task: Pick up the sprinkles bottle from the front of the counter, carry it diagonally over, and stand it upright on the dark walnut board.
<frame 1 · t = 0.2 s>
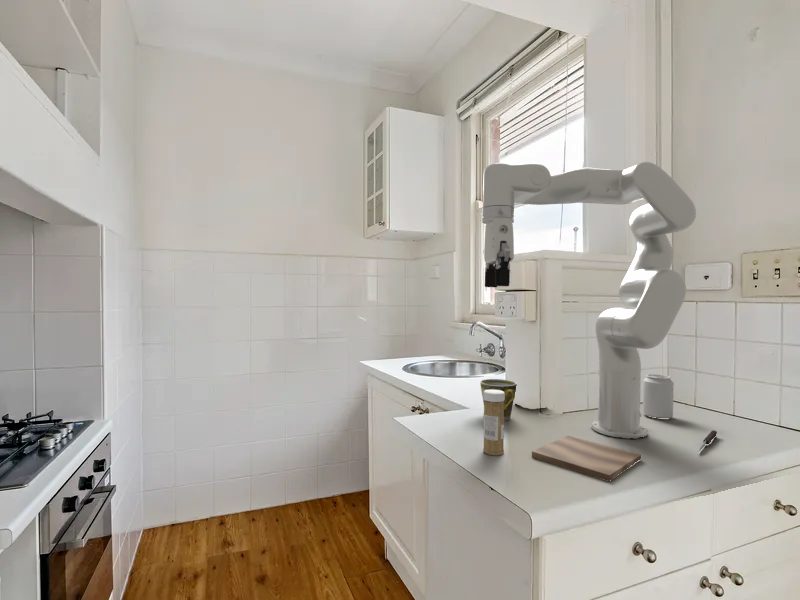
hand: (496, 286, 104), 37 cm above the countertop, tool pointing down, fingers open, 9 cm apart
ceramic cup: (500, 419, 119), on the countertop
kitchen knife: (706, 447, 99), on the countertop
can: (657, 417, 123), on the countertop
medicine bottle: (530, 407, 133), on the countertop
sprinkles bottle: (493, 453, 93), on the countertop
walnut board: (586, 458, 90), on the countertop
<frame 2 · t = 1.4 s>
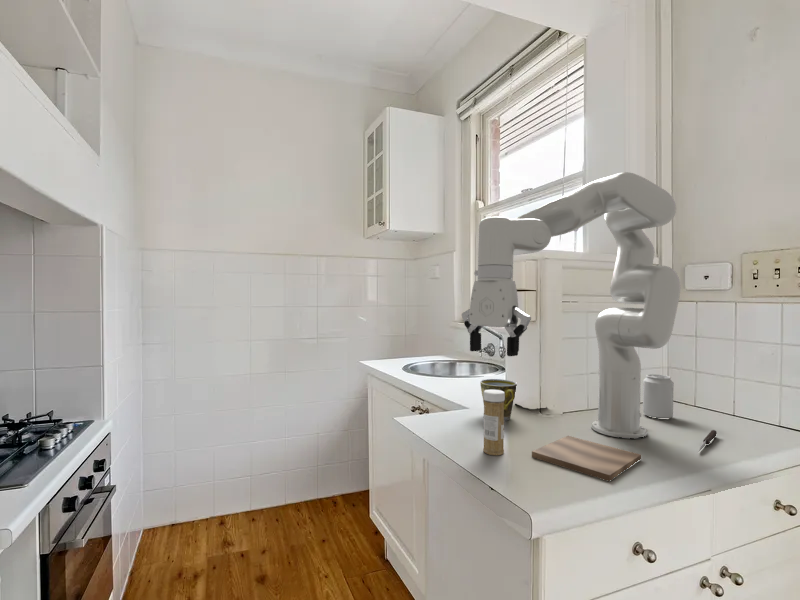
hand: (493, 353, 93), 22 cm above the countertop, tool pointing down, fingers open, 9 cm apart
nothing on the countertop moved.
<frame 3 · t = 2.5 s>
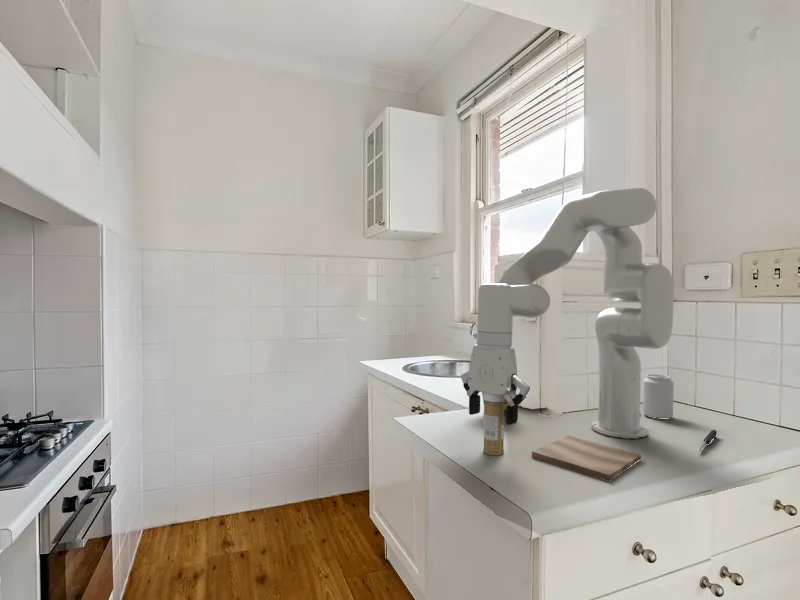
hand: (492, 418, 93), 7 cm above the countertop, tool pointing down, fingers open, 9 cm apart
nothing on the countertop moved.
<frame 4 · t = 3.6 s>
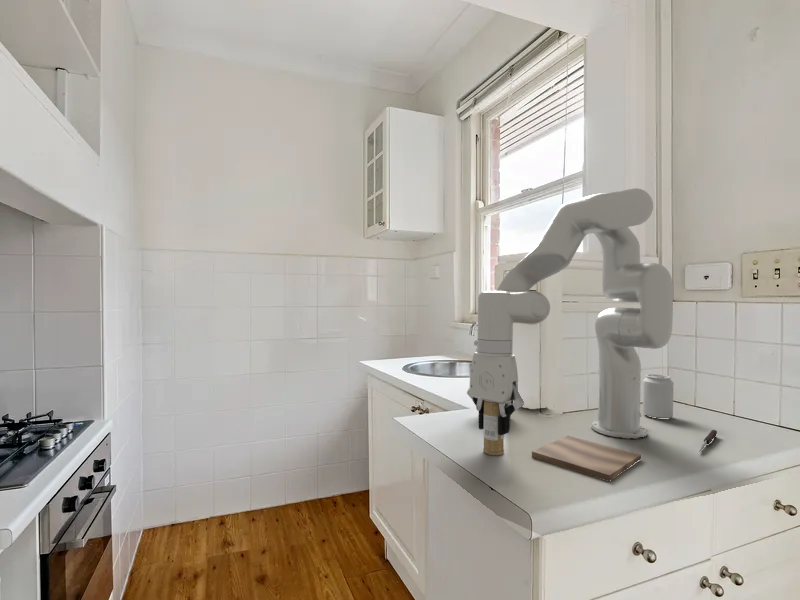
hand: (493, 430, 93), 5 cm above the countertop, tool pointing down, fingers closed on sprinkles bottle, 4 cm apart
sprinkles bottle: (493, 453, 93), on the countertop, touching gripper
everything else where it was.
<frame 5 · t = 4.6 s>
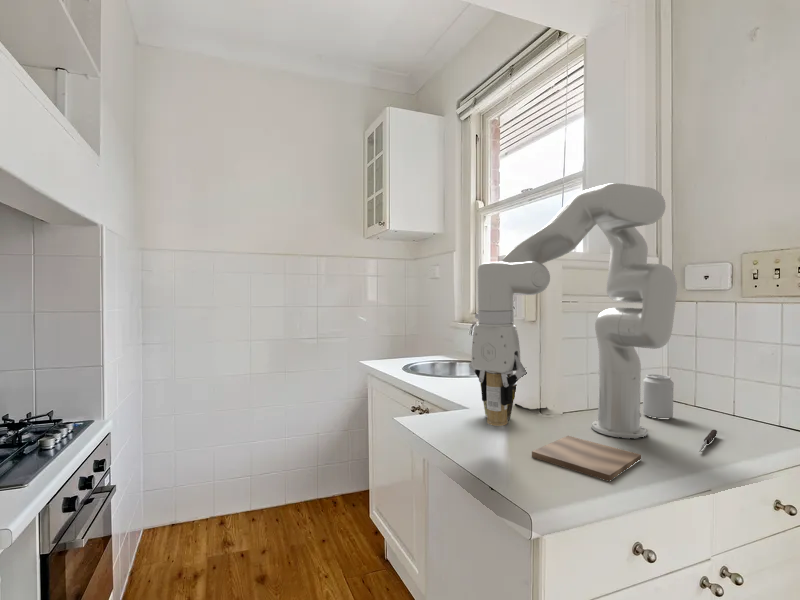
hand: (496, 401, 93), 11 cm above the countertop, tool pointing down, fingers closed on sprinkles bottle, 4 cm apart
sprinkles bottle: (497, 424, 94), point 6 cm above the countertop, touching gripper
everything else where it was.
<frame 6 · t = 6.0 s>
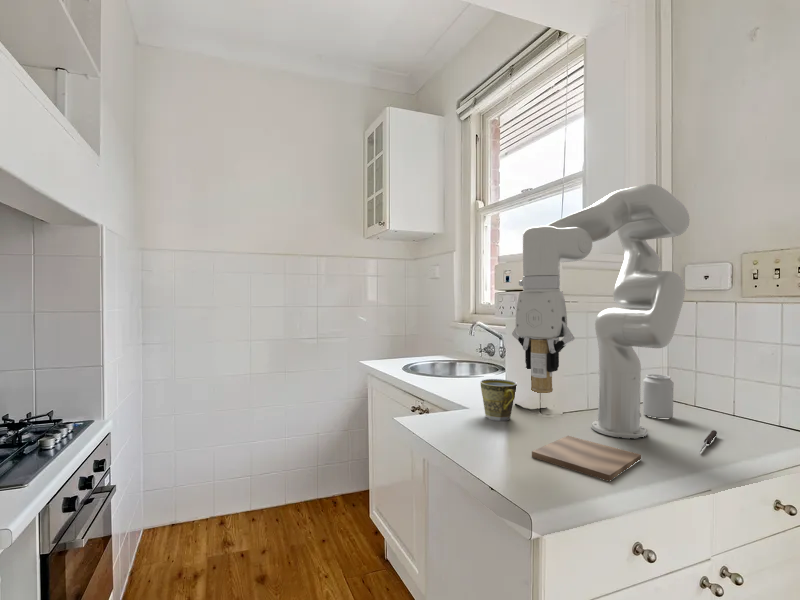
hand: (541, 368, 92), 19 cm above the countertop, tool pointing down, fingers closed on sprinkles bottle, 4 cm apart
sprinkles bottle: (541, 392, 92), point 14 cm above the countertop, touching gripper
everything else where it was.
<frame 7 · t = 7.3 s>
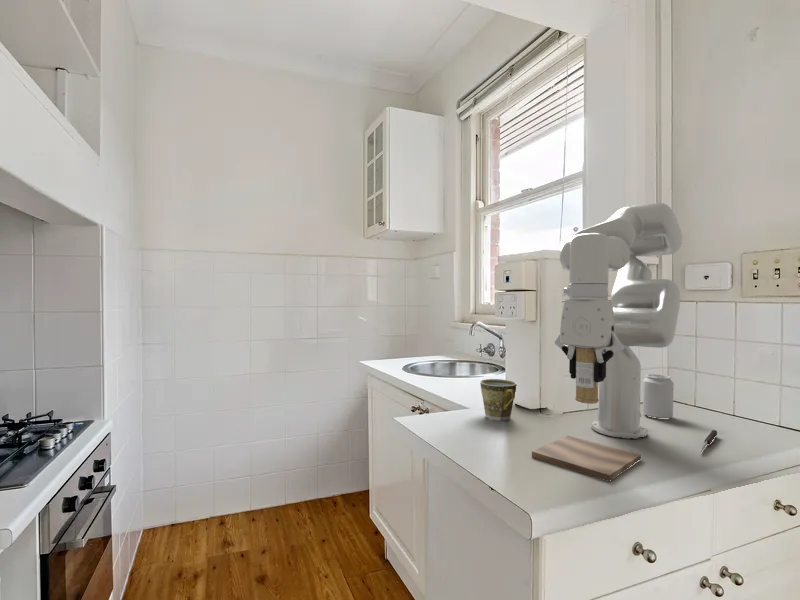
hand: (587, 378, 90), 17 cm above the countertop, tool pointing down, fingers closed on sprinkles bottle, 4 cm apart
sprinkles bottle: (586, 402, 90), point 12 cm above the countertop, touching gripper
everything else where it was.
when the fingers open (7 cm above the countertop, at t = 9.2 s): sprinkles bottle drops 1 cm, resting on walnut board.
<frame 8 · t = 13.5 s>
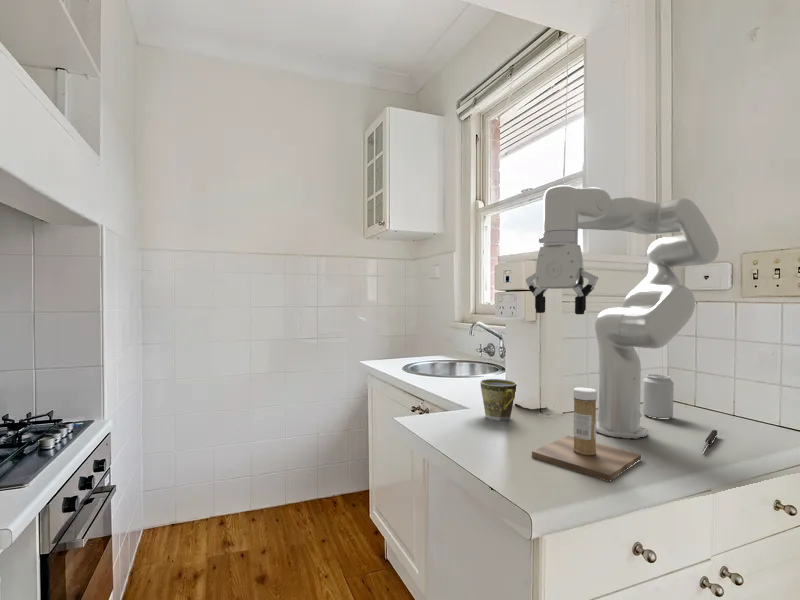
hand: (559, 313, 100), 30 cm above the countertop, tool pointing down, fingers open, 9 cm apart
sprinkles bottle: (584, 453, 91), point 1 cm above the countertop, touching walnut board
everything else where it was.
at the end: sprinkles bottle inside the target area on the walnut board (0.5 cm from its centre), point 1.0 cm above the walnut board's base; sprinkles bottle tilted 0°; the gripper is holding nothing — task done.
